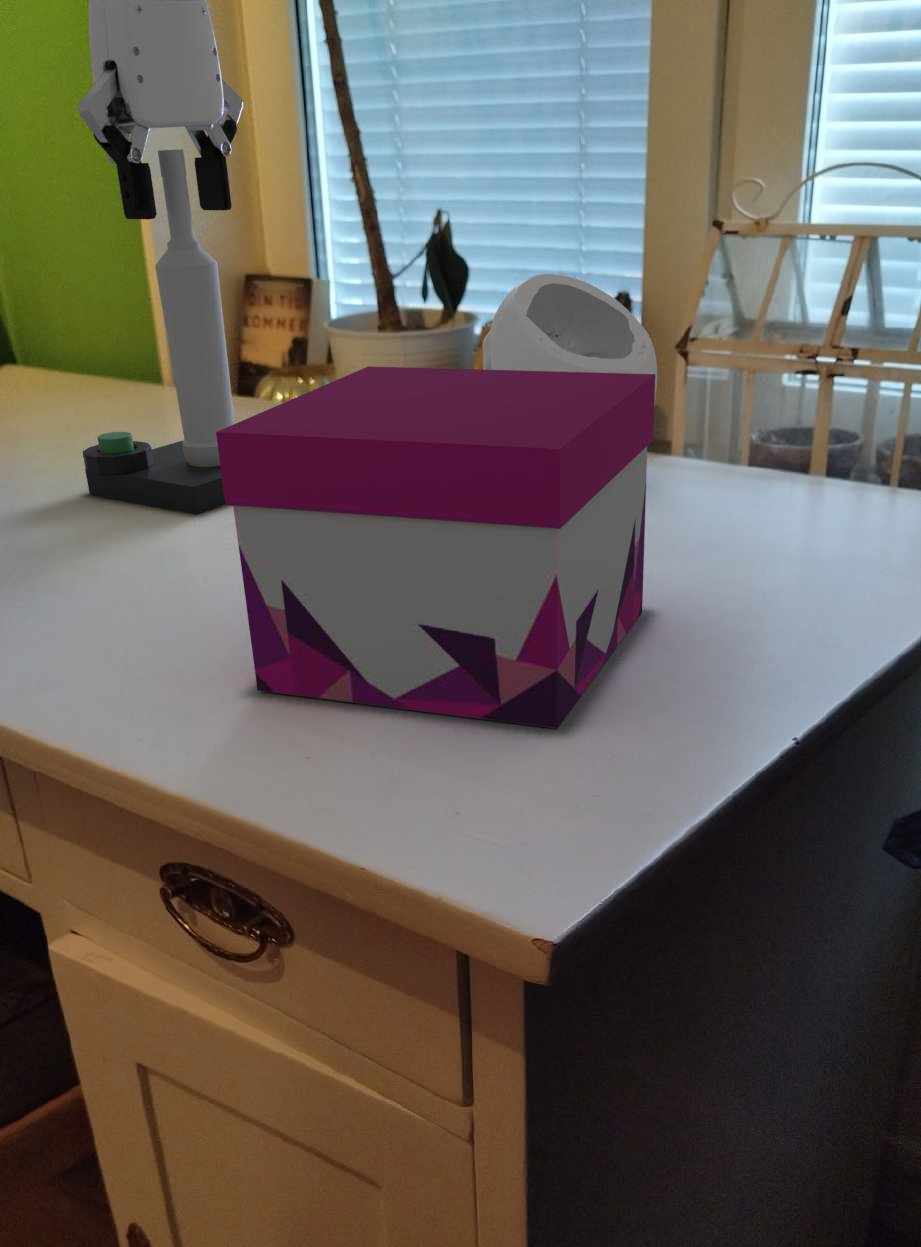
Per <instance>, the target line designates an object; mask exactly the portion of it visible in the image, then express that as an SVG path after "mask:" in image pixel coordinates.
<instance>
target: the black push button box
mask: <svg viewBox="0 0 921 1247" xmlns="http://www.w3.org/2000/svg"><path fill="white" fill-rule="evenodd" d="M183 441H184V440H179V441H176V442H173V443H170V444H166V445H162V446H158V447H154V448H152V446H151V445H150V444H149V442H144V441H139V440H133V445H134V450H131V451H128V452H122V453H112V454H103V453H100V449H99V444H96V445H92V446H89V447H87V448H86V449H83V451H82V457H83V463H84V471H85V476H86V482H87V487H88V492H89V495H91V496H96V497H100V498H106V499H112V500H116V501H122V502H127V503H133V504H139V505H143V506H150V507H154V508H160V509H166V510H171V511H176V512H180V513H181V512H182V513H186V514H187V513H188V514H193V515H199V514H201V513H205V512H207V511H210V510H214V509H216V508H219V507H221V506H226V504H225V496H224V489H223V481H222V474H221V467H220V466H214V467H196V466H191V465H189V464H188V463H187V461H186V459H185V456H184V453H183V447H182V442H183Z"/></svg>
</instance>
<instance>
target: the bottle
mask: <svg viewBox="0 0 921 1247" xmlns="http://www.w3.org/2000/svg"><path fill="white" fill-rule="evenodd" d="M157 156H158V162H159V169H160V176H161V180H162V187H163V192H164V202H165V207H166V208H165V209H166V215H167V221H168V229H169V237H170V239H169V241H168V242H167V243H166V245H167V248H166V251H165V252H164V253H163V255H162V256H161V257H160V258H159V259H158V261H157V262H156V264H155V266H154V267H155V273H156V279H157V284H158V291H159V296H160V304H161V308H162V314H163V321H164V325H165V326H164V327H165V333H166V339H167V344H168V350H169V356H170V361H171V368H172V374H173V380H174V385H175V392H176V397H177V398H176V399H177V402H178V410H179V416H180V421H181V427H182V434H183V440H182V441H183V442H182V447H183V453H184V456H185V459H186V461H187V463H188V464H189V465H191V466H196V467H214V466H220V459H219V452H218V444H217V437H216V432H217V431H220V430H222V429H224V428H227V427H229V426H231V425H234V424H236V423H235V415H234V405H233V396H232V387H231V386H232V385H231V378H230V368H229V359H228V351H227V350H228V349H227V341H226V339H227V338H226V331H225V322H224V313H223V304H222V294H221V286H220V278H219V276H220V275H219V267H218V261H217V260H216V259H214V257H212V256H211V255H210V254H209V253H208V252H207V251H205V250H204V249H203V248H202V247H201V243H200V240H198V239H197V238H196V237H195V231H194V230H195V229H194V223H193V218H192V210H191V201H190V194H189V188H188V180H187V167H186V161H185V159H186V158H185V153H184V149H183V148H182V149H181V148H180V149H163V150H161V149H160V150H157Z"/></svg>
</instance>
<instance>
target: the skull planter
mask: <svg viewBox="0 0 921 1247" xmlns="http://www.w3.org/2000/svg"><path fill="white" fill-rule="evenodd" d="M556 335H557V337H556ZM651 338H652V337H651V336H650V334H649V333H648V331H647V330H646V329H645V328H644V326H643V325H642V323H641V322H640V321H639V320H638V319H637V318H636V317H635V315H634V314H633V313H631V312H630V310H629V309H628V308H627V307H626V306H625V305H623V303H621V302H620V301H619V300H618V299H616V298H614V297H613V296H611V295H610V294H608V293H607V292H605V291H603V290H601V289H600V288H599V287H596V286H594V285H593V284H592V283H591V284H590V283H588V282H586V281H584V280H581V279H579V278H575V277H572V276H566V275H561V274H555V273H541V274H537V275H533V276H531V277H529V278H527V279H525V280H523V281H522V282H520V283H519V284H517V285H516V286H514V287H513V288H512V289H511V290H510V291H509V292H508V293H507V295H506V296H505V297H504V298H503V300H502V301H501V303H500V305H499V306H498V307H497V310H496V311H495V313H494V316H493V319H492V322H491V327H490V328H489V332H488V333H487V334H486V335H485V337H484V339H483V341H482V347H481V350H482V366H483V368H482V370H518V371H555V372H592V373H629V374H655V399H656V397H657V388H658V362H657V355H656V350H655V346H654V344H653V341H652V339H651ZM569 343H571V344H569ZM568 344H569V345H568ZM655 405H656V400H655V401H654V406H655Z"/></svg>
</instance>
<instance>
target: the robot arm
mask: <svg viewBox="0 0 921 1247" xmlns="http://www.w3.org/2000/svg"><path fill="white" fill-rule="evenodd" d="M88 39H89V52H90V53H89V54H90V64H91V72H92V82H93V85H92V86H91V88H90V89H89V90H88V91H87V93H86V94H85V95H84V96H83V97H82V99H81V100H80V102H78V104H77V111H78V113H79V115H80V117H81V118H82V119H83V121H84V123H85V124H86V126H87V127H88V128H89V130H90V132H92V133H93V138H94V141H95V142H96V143H97V144H98V145H99V146H100V147H101V148H102V149H103V151H104V152H105V153H106V155H107V156H106V157H107V159H108V161H109V162H110V163H111V164H113V165H116V171H117V172H116V173H117V177H118V184H119V190H120V196H121V201H122V202H121V203H122V208H123V215H124V217H125V218H126V219H127V220H155V219H156V217H157V206H156V200H155V193H154V185H153V178H152V172H151V167H150V163H149V162H143V161H142V160H143V157H144V153H145V150H146V145H147V142H148V137H149V134H150V130H151V129H165V128H166V129H167V128H183V127H184V128H185V130H186V131H187V133H188V135H189V137H190V138H191V139H190V140H191V141H192V142H193V145H194V147H195V149H196V150H197V152H198V154H199V155H200V157H194V169H195V179H196V186H197V193H198V201H199V207H200V208H201V210H202V211H230V210H231V209H232V197H231V188H230V180H229V173H228V165H227V164H228V163H227V158H228V157H229V156H230V155H231V153H232V145H231V144H232V143H233V140H234V138H235V136H236V134H237V131H238V126H237V125H238V123H239V120H240V117H241V114H242V111H243V108H244V101H243V99H242V98H241V96H240V95H239V94H237V92H236V91H235V90H234V89H233V88H232V87H231V86H230V85H229V84H228V83H227V82H226V81H225V80H224V79H223V78H222V71H221V65H220V59H219V58H220V57H219V52H218V47H217V41H216V36H215V31H214V26H213V22H212V18H211V13H210V9H209V6H208V1H207V0H88ZM206 133H207V134H206Z"/></svg>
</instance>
